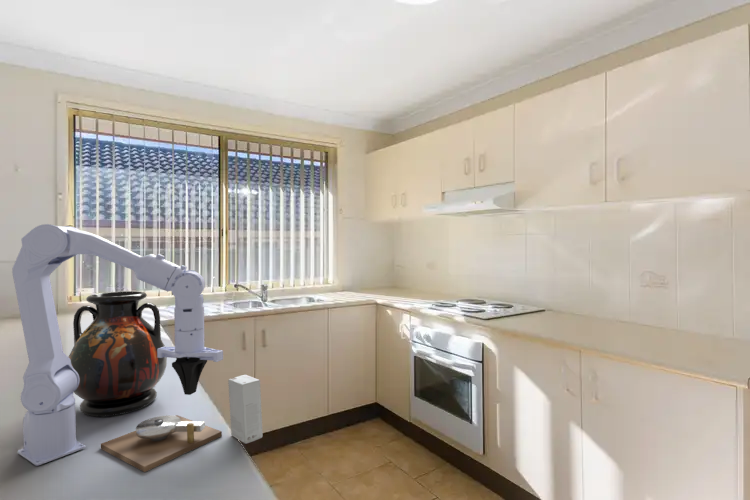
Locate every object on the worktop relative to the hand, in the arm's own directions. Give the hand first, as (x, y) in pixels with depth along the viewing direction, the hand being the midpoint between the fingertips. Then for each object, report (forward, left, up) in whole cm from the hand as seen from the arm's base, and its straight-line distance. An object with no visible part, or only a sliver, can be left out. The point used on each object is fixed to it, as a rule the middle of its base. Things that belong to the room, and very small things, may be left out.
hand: (190, 393), depth 88 cm
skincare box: (+11, +5, -9) cm, 15 cm away
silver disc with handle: (0, -4, -6) cm, 7 cm away
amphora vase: (-30, 0, -9) cm, 32 cm away
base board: (-2, -5, -9) cm, 10 cm away
